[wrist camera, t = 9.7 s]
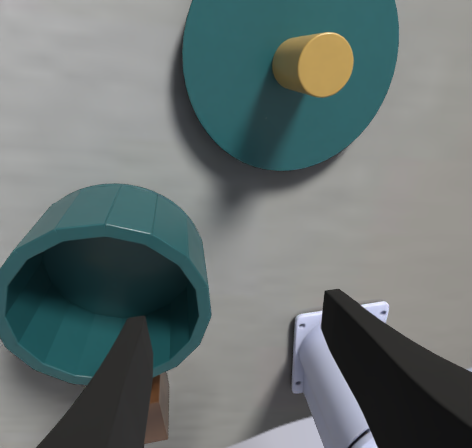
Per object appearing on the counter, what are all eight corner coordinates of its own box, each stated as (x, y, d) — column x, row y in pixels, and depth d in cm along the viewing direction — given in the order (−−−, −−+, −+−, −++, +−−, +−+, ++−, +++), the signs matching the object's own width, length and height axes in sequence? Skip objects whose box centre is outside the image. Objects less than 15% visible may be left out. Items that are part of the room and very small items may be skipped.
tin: (209, 308, 25) (217, 369, 20) (62, 330, 23) (32, 400, 18) (194, 175, 20) (200, 212, 15) (6, 193, 18) (-53, 240, 14)
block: (169, 386, 28) (168, 439, 24) (116, 395, 27) (106, 451, 23) (161, 350, 26) (158, 402, 22) (104, 359, 25) (90, 414, 21)
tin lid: (370, 157, 21) (423, 184, 16) (194, 174, 20) (199, 209, 15) (405, -75, 16) (497, -127, 11) (166, -74, 14) (162, -133, 10)
